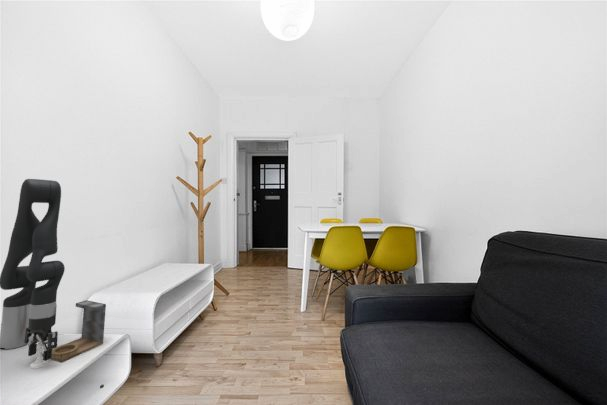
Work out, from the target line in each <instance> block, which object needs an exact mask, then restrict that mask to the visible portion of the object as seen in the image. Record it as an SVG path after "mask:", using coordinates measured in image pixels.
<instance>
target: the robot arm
mask: <svg viewBox="0 0 607 405" xmlns="http://www.w3.org/2000/svg"><path fill="white" fill-rule="evenodd" d="M20 187H21V188H20V193H19V200H18V207H17V213H16V217H15V222H14V225H13V228H12V232H11V235H10V240H9V246H8V251H7V256H6V258H5V262H4V265H3V267H2V270H1V273H0V289H2V290H3V291H8V290H9V291H10V290H11V291H12V290H17V289H21V290H19V291H18V292H17V293H14V294H12V295H10V296H8V297H6V298H4V299H3V303H2V315H1V324H0V348H5V349H4V350H11V349H16V348H20V347H24V346H28V355H27V356H28V357H32V356H34V355H36V354H37V353H38V352H37V351H36V350H37V349H38V346H37V344H38V343H40V345H41V346H43V347H42V348H44V350H43V353H44V355H43V357H42V359H43V360H44V361H46V360H48V361H49V360H52V359H51V356H52V349H54V348H56V347H58V335H59V334H58V331H57V330H56V331H52V328H53V326H55V324H56V317H57V294H58V288H59V286H60V283H61V281H62V278H63V277H64V273H65V265H64V263H63V262H62V261H61V260H50V261H44V260H43V259H44V258H45V257H48V256H51V255H52V256H53V255H54V254H57V253H58V248H59V247H58V223H59V217H60V216H59V215H60V208H61V202H62V201H61V198H62V187H61V185H60V183H59V182H58V181H57V180H50V179H40V178H38V179H37V178H26V179H24V181H23V182H22V184H21V186H20ZM34 203H35V204H36V203H38V204H48V208H47V211H46V213H45V215H44V217H43V218H42V219H41V220H39V219H38V218H37V216H36V214H35V213H34V211H33V207H32V206H33V204H34ZM30 255H31V257H30V261H29V263H28V265H23V266H19V265H20V264H21V263H22V262H23V260H25V259H26V258H27V257H29V256H30ZM45 281H47V282H46V283H44V284H43V285H40V286H37V287H36V285H37V283H39V282H45Z"/></svg>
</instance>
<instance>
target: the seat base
mask: <svg viewBox="0 0 607 405" xmlns="http://www.w3.org/2000/svg"><path fill="white" fill-rule="evenodd" d="M75 307H76V308H79V309H83V311H82V312H83V313H82V314H83V315H82V325H81V326H82V327H81V337H80V338H77V339H75V340H71V341H70V342H67V343H65V344H61V345H59V346H58V345H57V347H56V348H53V349H52V356H51V359H50V360H53V361H55V362H58V363H64V362H66V361H69V360H71V359H73V358H75V357H77V356H79V355H82V354H84V353H86V352H89V351H91V350H93V349H96V348H97V347H99V346H102V345H103V344H104V338H105V337H104V335H105V321H106V309H107V308H106V307H107V305H106V303H102V302H96V301H93V300H82V301H78V302H76V303H75ZM43 355H44V352H42V358H43Z"/></svg>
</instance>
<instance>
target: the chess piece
mask: <svg viewBox="0 0 607 405" xmlns="http://www.w3.org/2000/svg"><path fill="white" fill-rule="evenodd" d="M36 344H37V350H36V351H37V352H36V353H37V357H36V360H35V361H33V362H32V363H31V364H30V365H29V369H39V368H42V367H44V366H46V365H47V364H48V363H49V360H46V361H44V360H43V357H42V353H43V352H44V348H43V346H41V345H40V343H39V342H37V343H36Z"/></svg>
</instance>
